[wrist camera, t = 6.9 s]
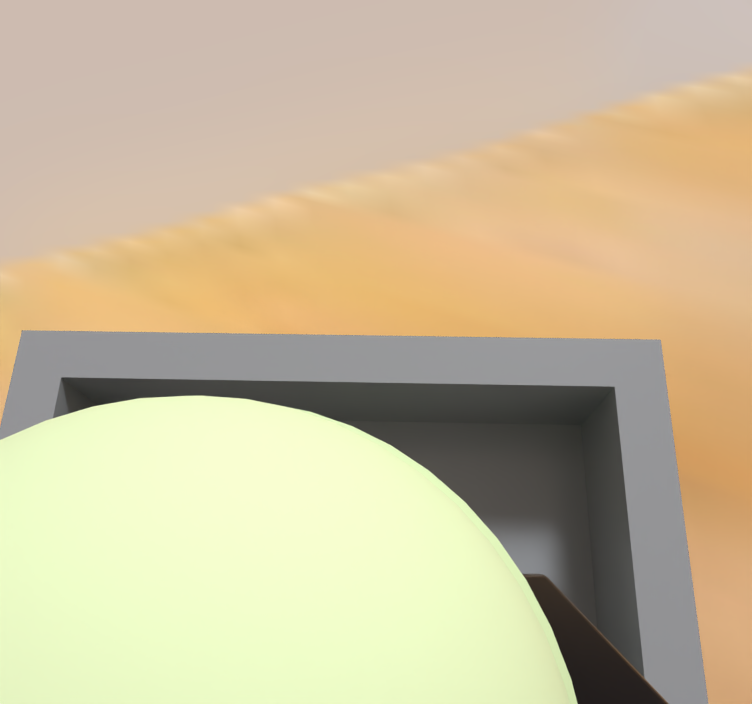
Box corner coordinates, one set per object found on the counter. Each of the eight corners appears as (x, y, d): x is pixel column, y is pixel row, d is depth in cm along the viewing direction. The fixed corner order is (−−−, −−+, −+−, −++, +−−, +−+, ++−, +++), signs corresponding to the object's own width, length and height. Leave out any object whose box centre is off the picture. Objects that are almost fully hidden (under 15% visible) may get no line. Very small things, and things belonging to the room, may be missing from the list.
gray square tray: (-40, 1058, 14) (-174, 1188, 11) (86, 383, 19) (22, 330, 16) (685, 1094, 14) (778, 1241, 10) (613, 392, 19) (660, 339, 16)
